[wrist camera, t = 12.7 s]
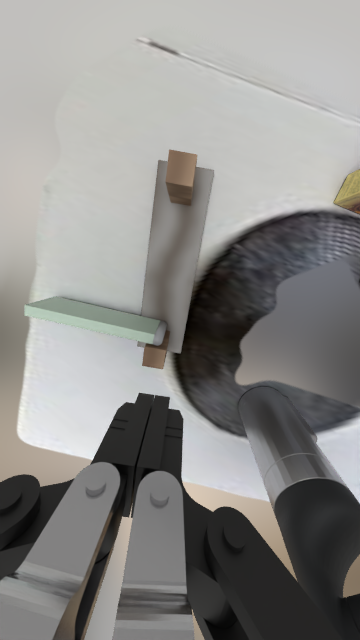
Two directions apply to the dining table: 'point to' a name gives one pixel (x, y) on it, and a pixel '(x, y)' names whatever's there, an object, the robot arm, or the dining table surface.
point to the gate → (98, 319)
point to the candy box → (350, 193)
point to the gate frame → (174, 249)
